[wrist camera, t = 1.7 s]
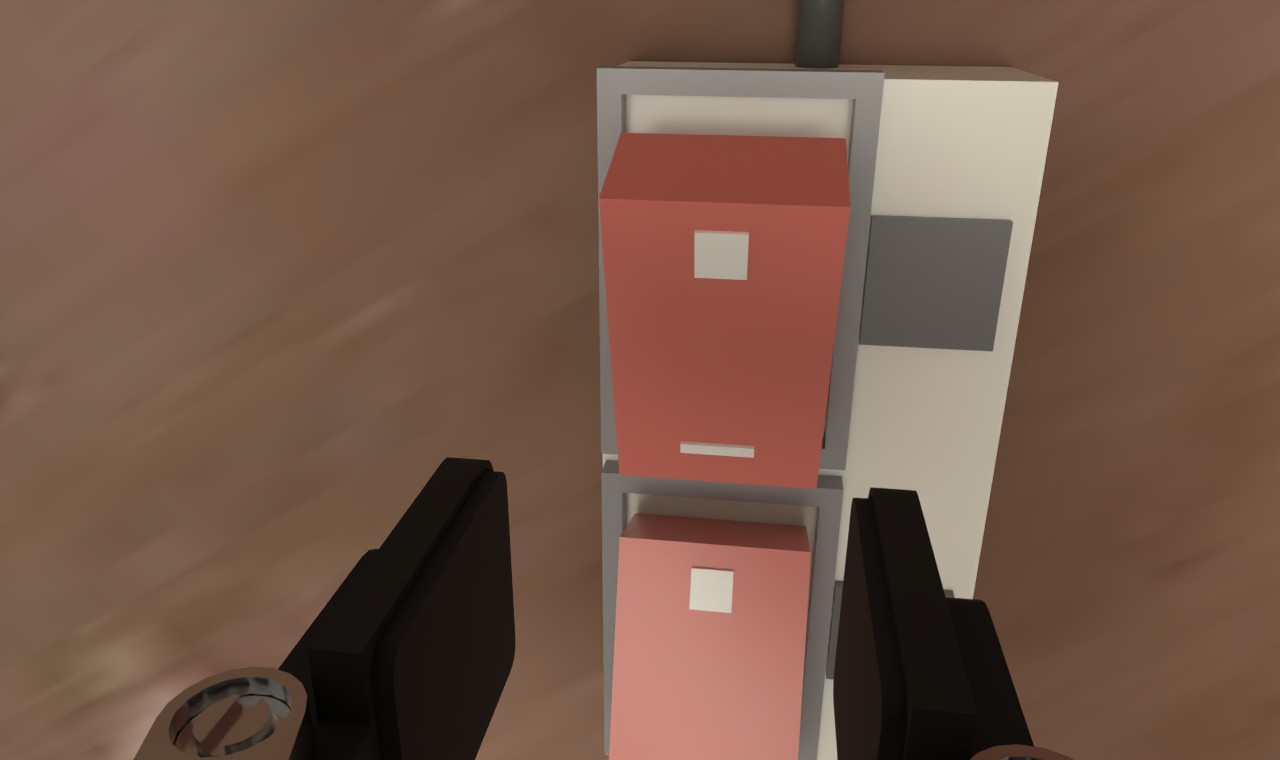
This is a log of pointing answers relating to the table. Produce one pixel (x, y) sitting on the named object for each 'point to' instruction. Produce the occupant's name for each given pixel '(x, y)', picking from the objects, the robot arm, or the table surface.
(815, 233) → the block
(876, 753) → the robot arm
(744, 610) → the rocker
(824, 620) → the power strip
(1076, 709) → the table surface
